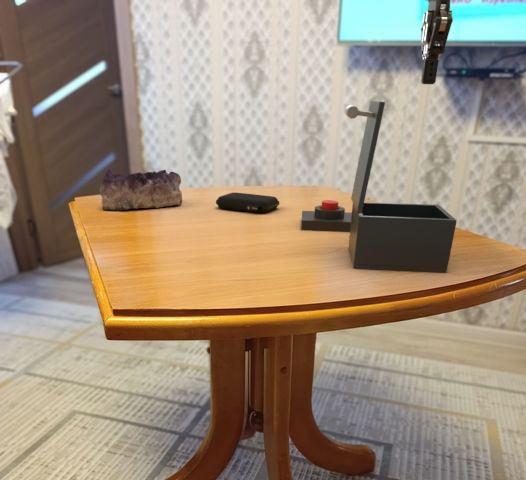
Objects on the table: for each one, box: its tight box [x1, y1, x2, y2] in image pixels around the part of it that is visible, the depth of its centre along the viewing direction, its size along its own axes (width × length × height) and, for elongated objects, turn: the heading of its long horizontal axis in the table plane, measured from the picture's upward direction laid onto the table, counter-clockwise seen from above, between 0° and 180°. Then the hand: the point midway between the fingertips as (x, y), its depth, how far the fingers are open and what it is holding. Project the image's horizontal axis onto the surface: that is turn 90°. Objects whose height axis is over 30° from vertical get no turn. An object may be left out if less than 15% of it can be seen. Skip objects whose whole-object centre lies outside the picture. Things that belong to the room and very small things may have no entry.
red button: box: [321, 199, 339, 210], centre depth 112 cm, size 4×4×2 cm
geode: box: [99, 169, 183, 212], centre depth 126 cm, size 20×12×10 cm, turn 125°
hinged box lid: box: [344, 100, 386, 214], centre depth 84 cm, size 16×13×5 cm
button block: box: [300, 204, 352, 233], centre depth 113 cm, size 12×10×4 cm
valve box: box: [347, 201, 457, 274], centre depth 90 cm, size 16×13×9 cm
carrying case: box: [215, 192, 280, 214], centre depth 127 cm, size 11×3×15 cm
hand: (427, 84), depth 89 cm, fingers closed
